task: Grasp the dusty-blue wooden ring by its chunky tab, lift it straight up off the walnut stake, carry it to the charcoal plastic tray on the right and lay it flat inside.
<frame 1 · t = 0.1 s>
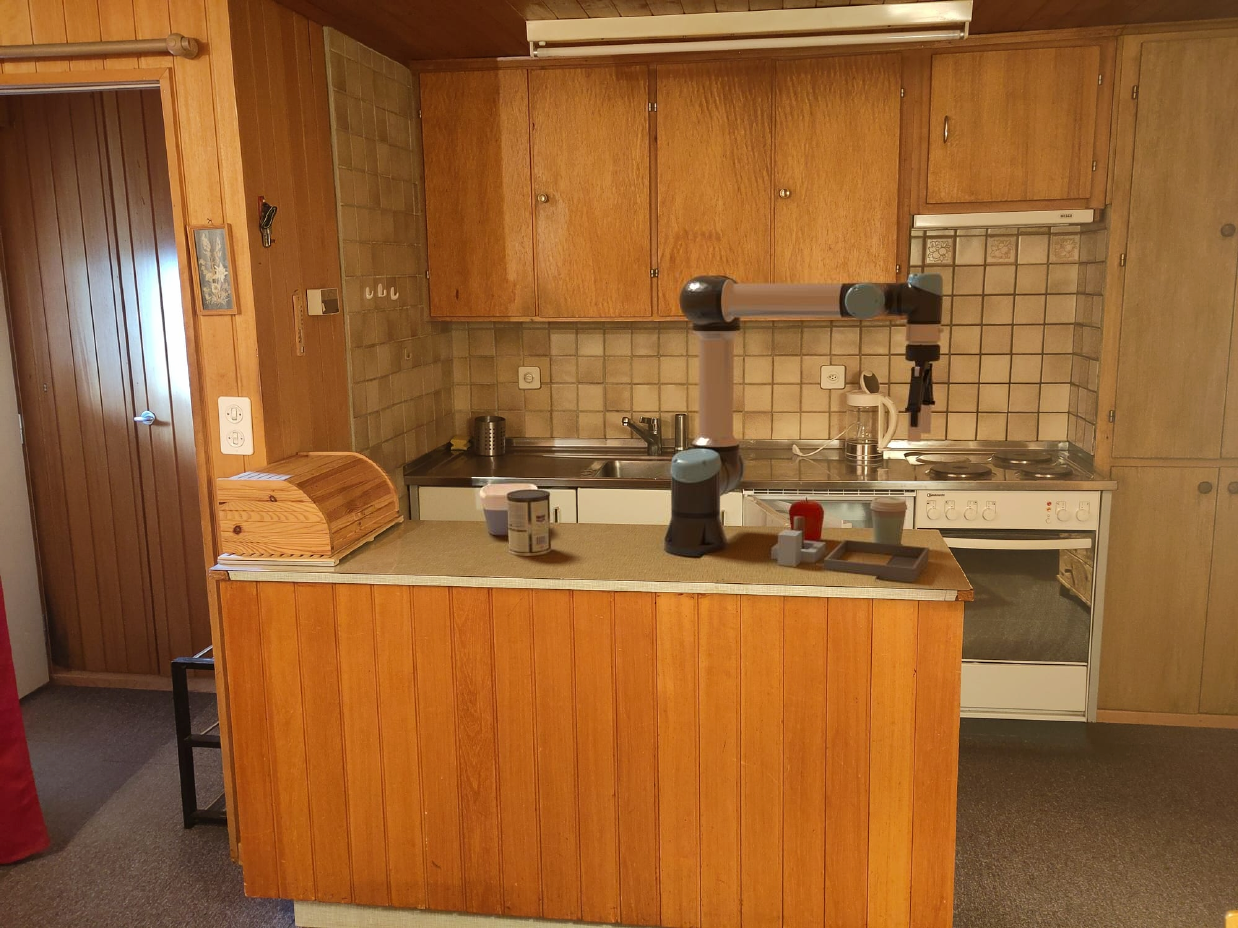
hand: (919, 437, 236), 28 cm above the table, fingers open, 13 cm apart
plastic food container: (510, 531, 270), on the table
coffee can: (529, 551, 250), on the table
tray: (877, 566, 232), on the table
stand: (798, 558, 240), on the table
apple: (805, 544, 253), on the table
coffee cup: (887, 549, 248), on the table
ring: (798, 555, 240), point 1 cm above the table, touching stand
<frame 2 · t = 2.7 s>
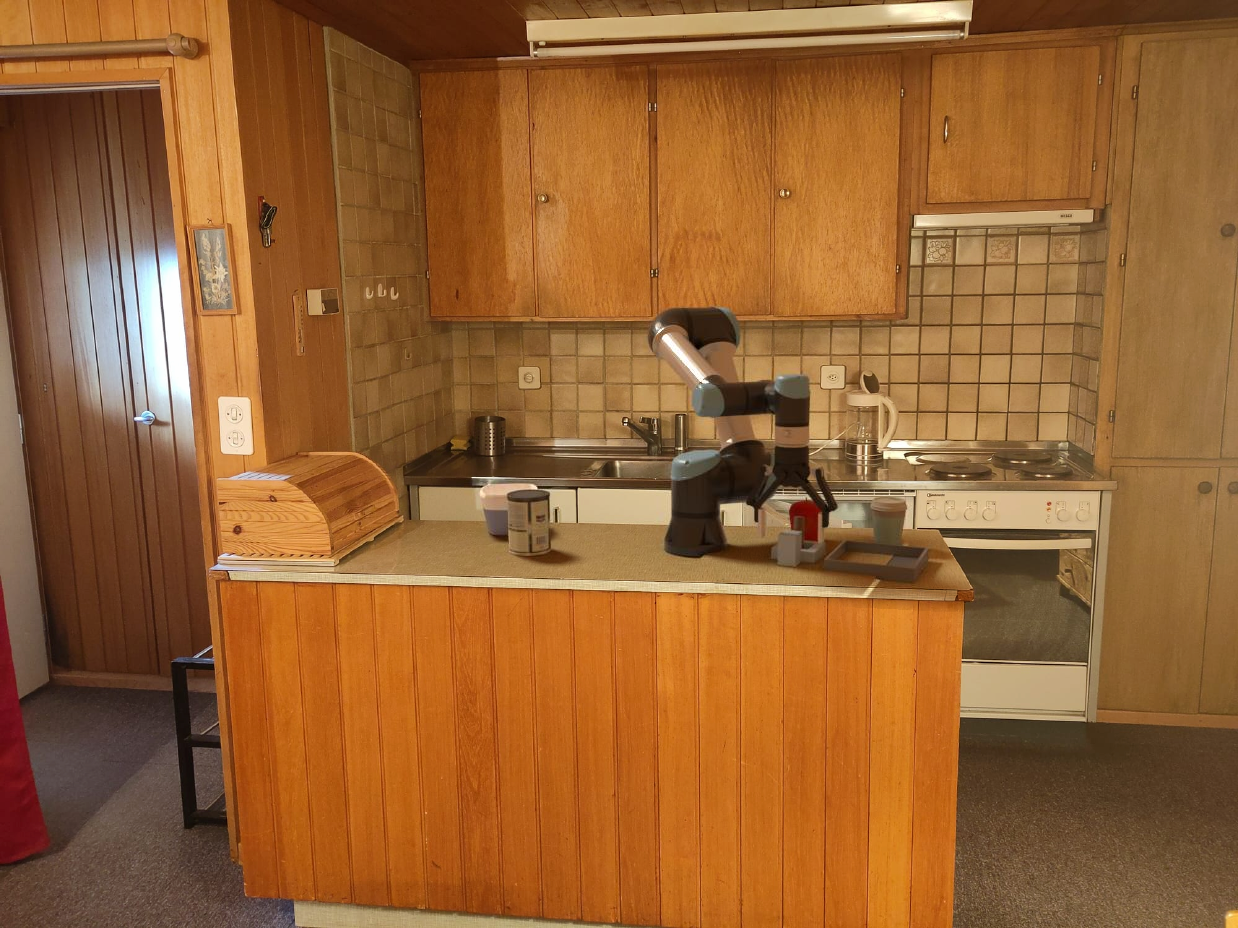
hand: (790, 539, 232), 6 cm above the table, fingers open, 13 cm apart
nothing on the table moved.
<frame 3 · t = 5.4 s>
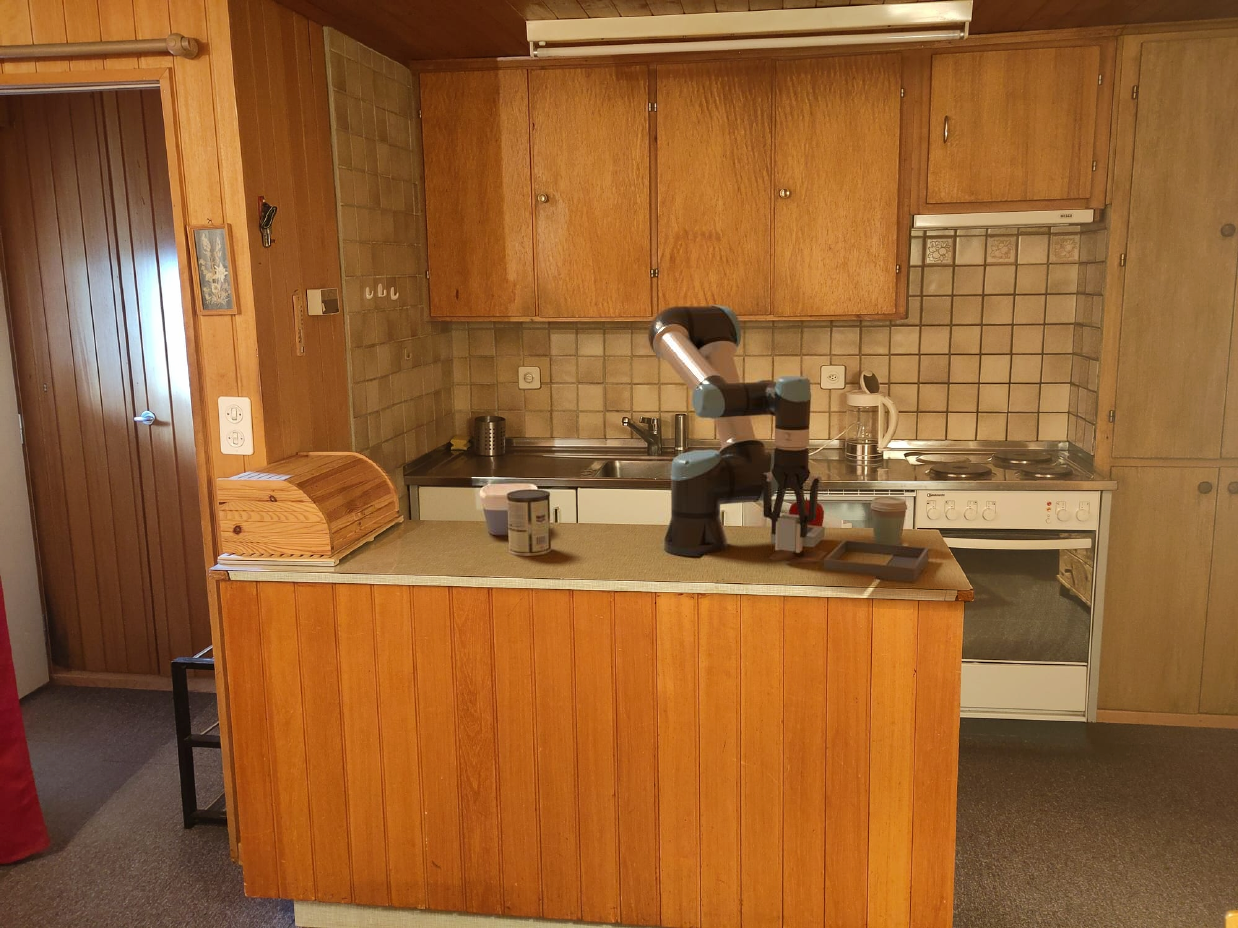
hand: (788, 549, 233), 4 cm above the table, fingers closed on ring, 4 cm apart
ring: (797, 539, 240), point 4 cm above the table, touching gripper
everything else where it was.
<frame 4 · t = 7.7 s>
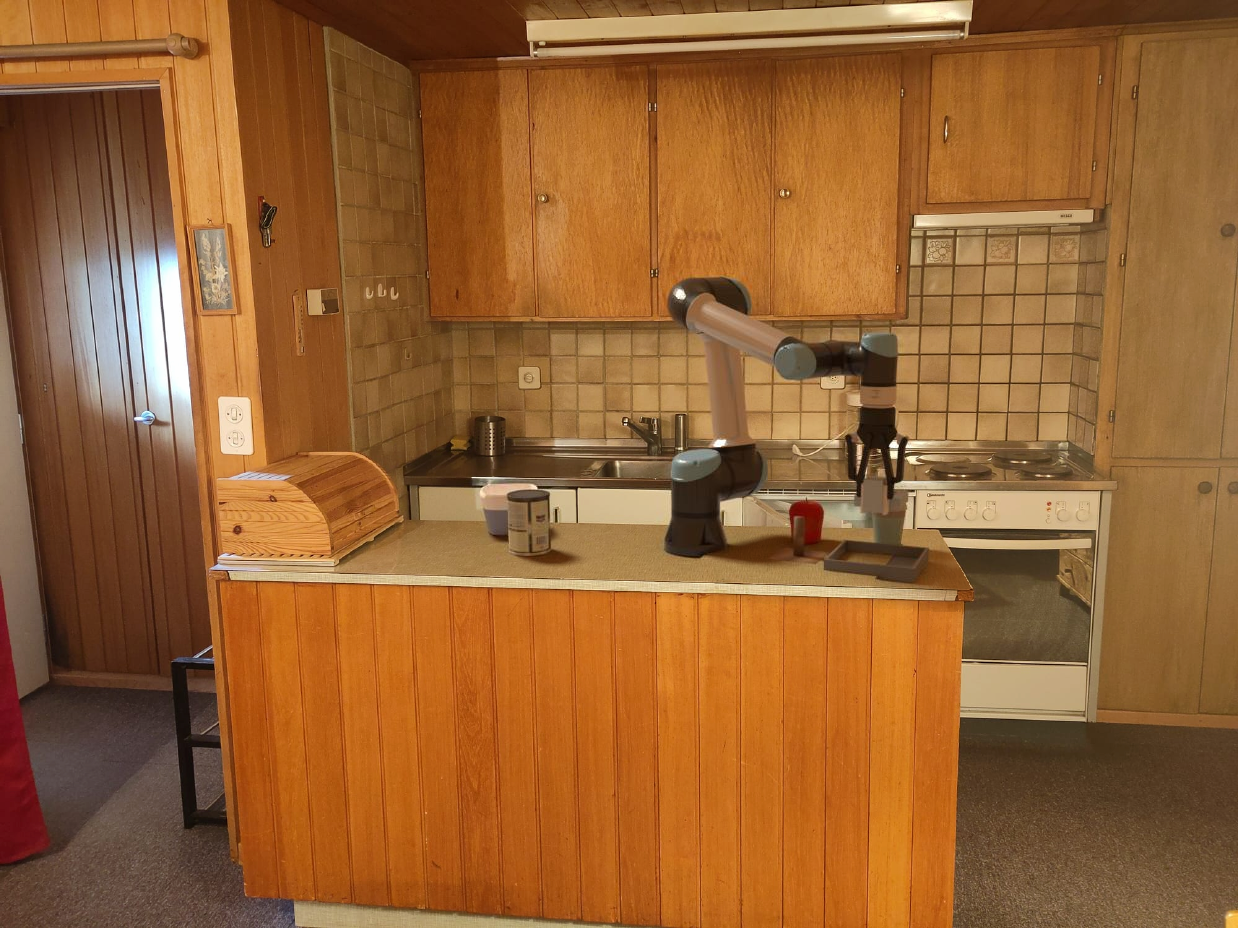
hand: (874, 512, 226), 13 cm above the table, fingers closed on ring, 4 cm apart
ring: (881, 503, 232), point 14 cm above the table, touching gripper
everything else where it was.
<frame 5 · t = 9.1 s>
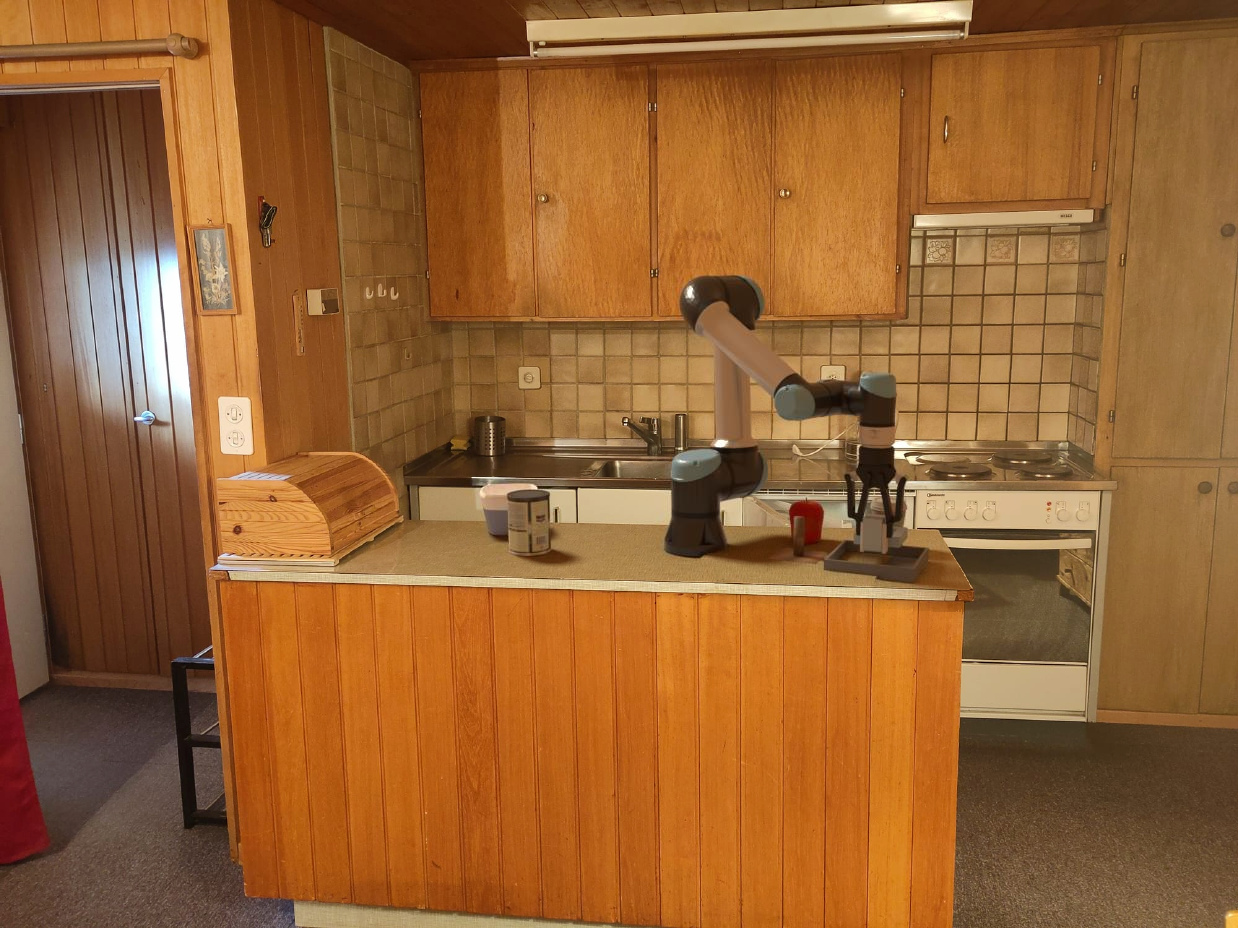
hand: (873, 550, 227), 5 cm above the table, fingers closed on ring, 4 cm apart
ring: (880, 540, 234), point 5 cm above the table, touching gripper
everything else where it was.
when the fingers open (2 cm above the table, at t = 10.3 s): ring drops 2 cm, resting on tray.
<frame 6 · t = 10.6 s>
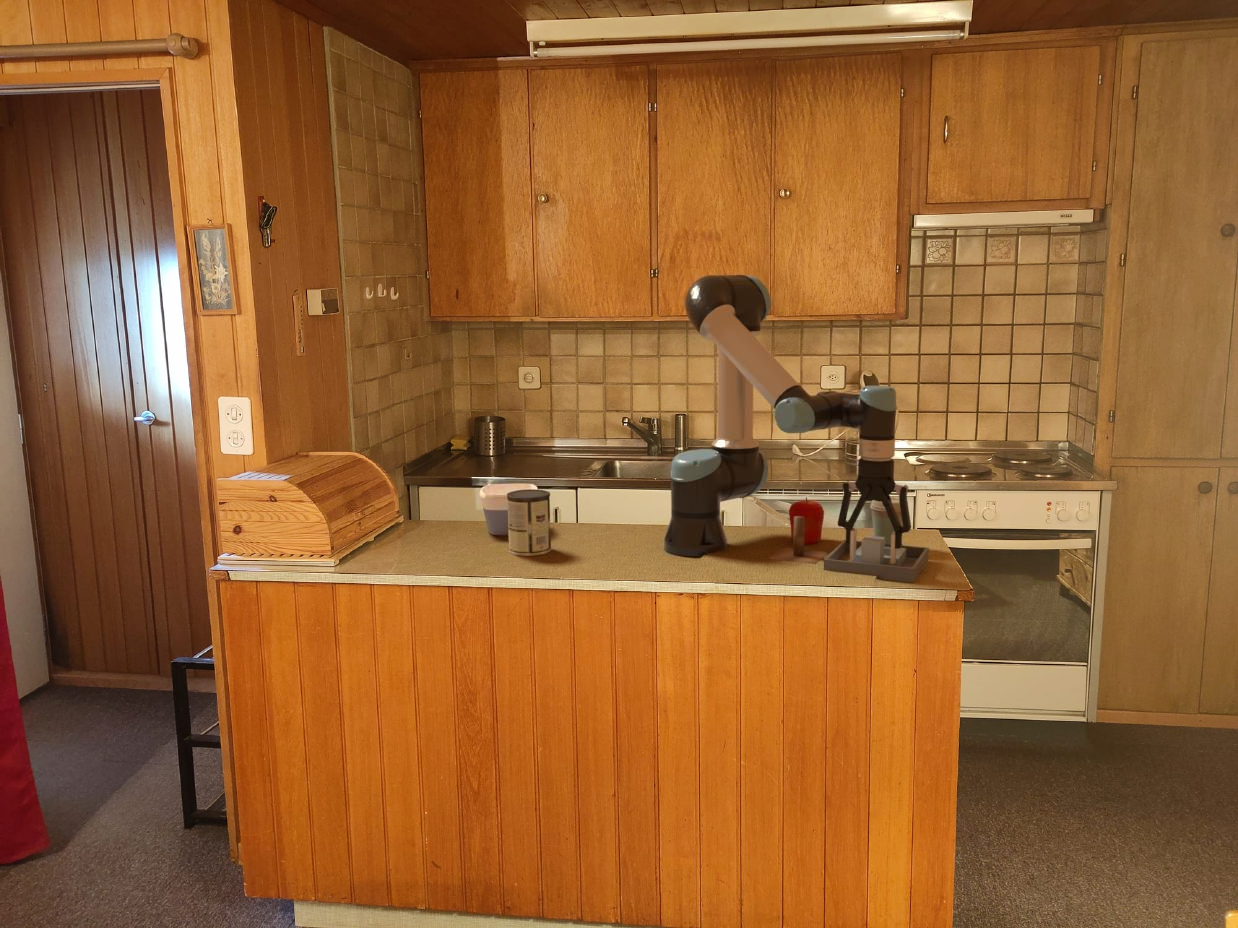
hand: (872, 560, 228), 3 cm above the table, fingers open, 8 cm apart
ring: (879, 561, 235), point 1 cm above the table, touching tray
everything else where it was.
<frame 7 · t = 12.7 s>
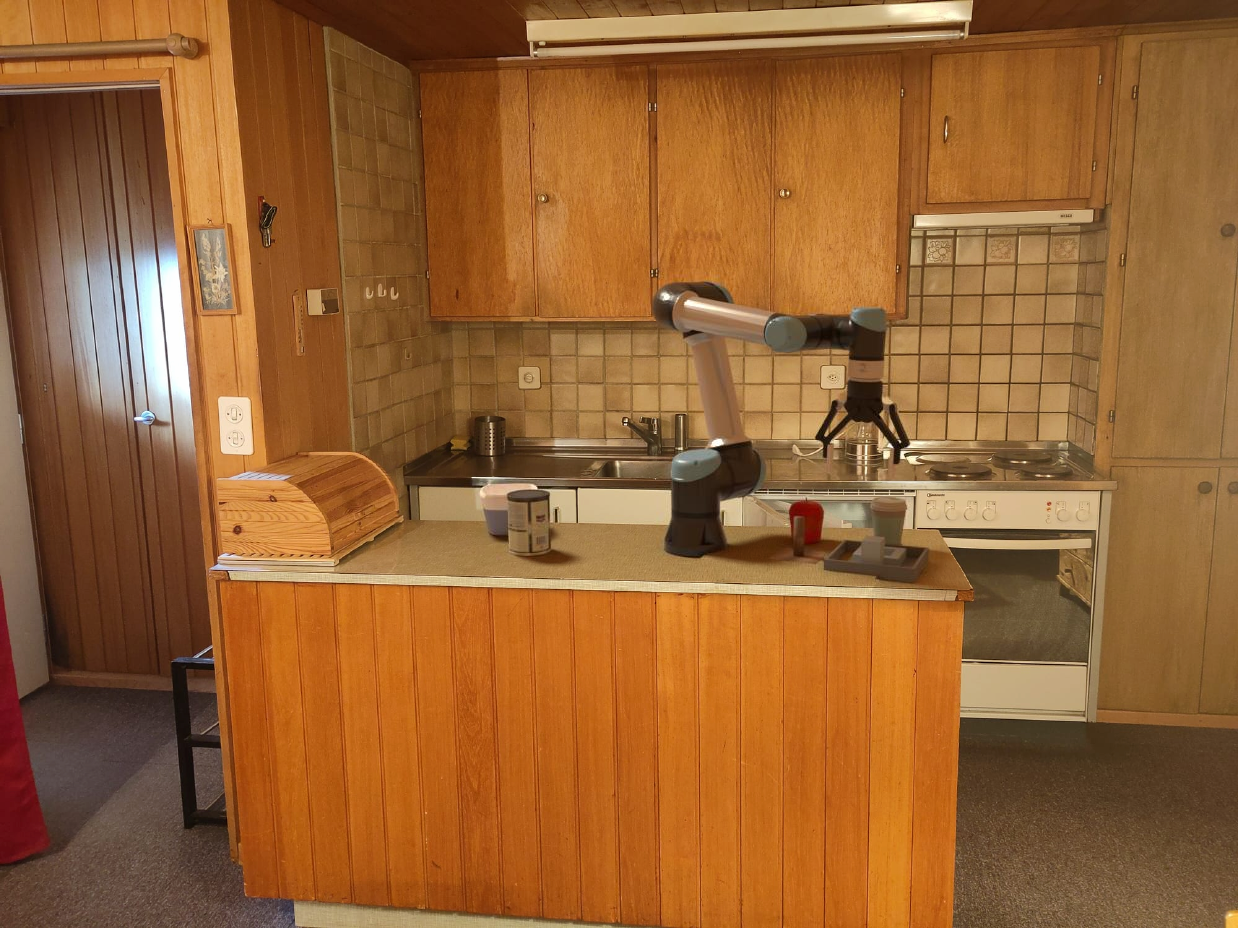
hand: (859, 475, 229), 21 cm above the table, fingers open, 13 cm apart
nothing on the table moved.
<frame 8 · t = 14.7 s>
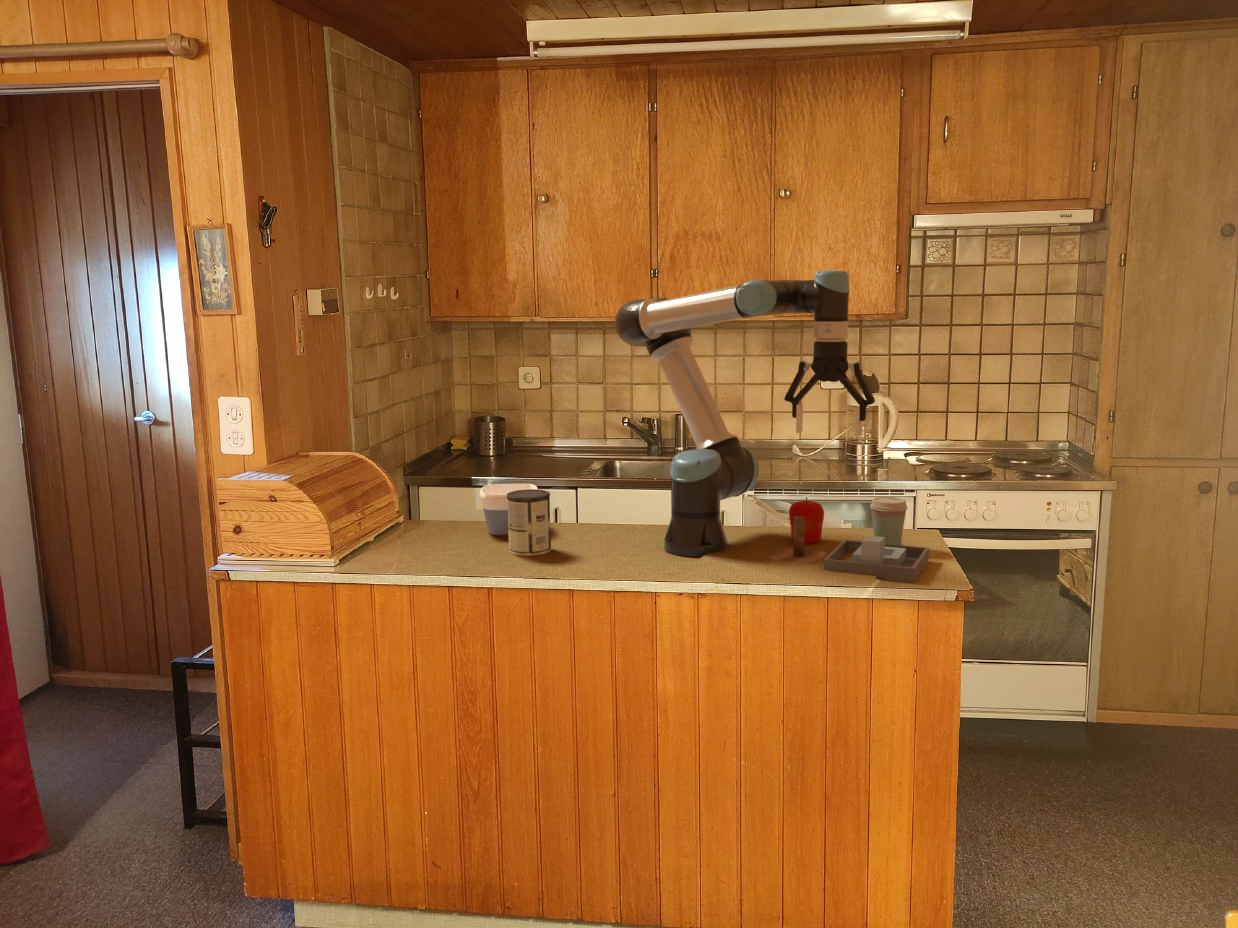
hand: (828, 433, 238), 29 cm above the table, fingers open, 13 cm apart
nothing on the table moved.
at the end: ring inside the target area on the tray (0.5 cm from its centre), point 0.6 cm above the tray's base; ring tilted 0°; the gripper is holding nothing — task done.
